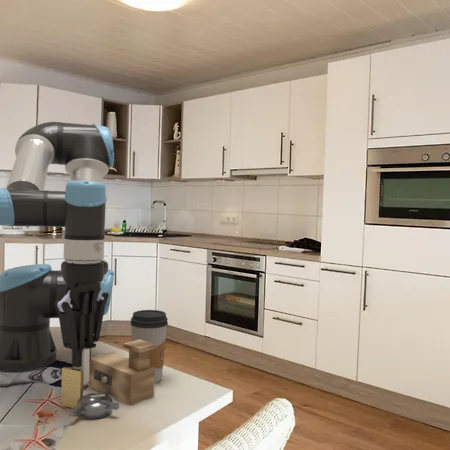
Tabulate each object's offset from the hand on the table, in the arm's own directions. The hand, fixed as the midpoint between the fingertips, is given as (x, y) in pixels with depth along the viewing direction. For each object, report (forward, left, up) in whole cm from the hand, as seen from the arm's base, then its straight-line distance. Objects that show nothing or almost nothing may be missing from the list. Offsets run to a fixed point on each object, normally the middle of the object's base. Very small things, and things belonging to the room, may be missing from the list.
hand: (80, 381), depth 93 cm
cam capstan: (+5, -1, -4) cm, 6 cm away
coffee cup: (-1, +18, -5) cm, 18 cm away
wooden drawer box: (+1, +9, -4) cm, 10 cm away
